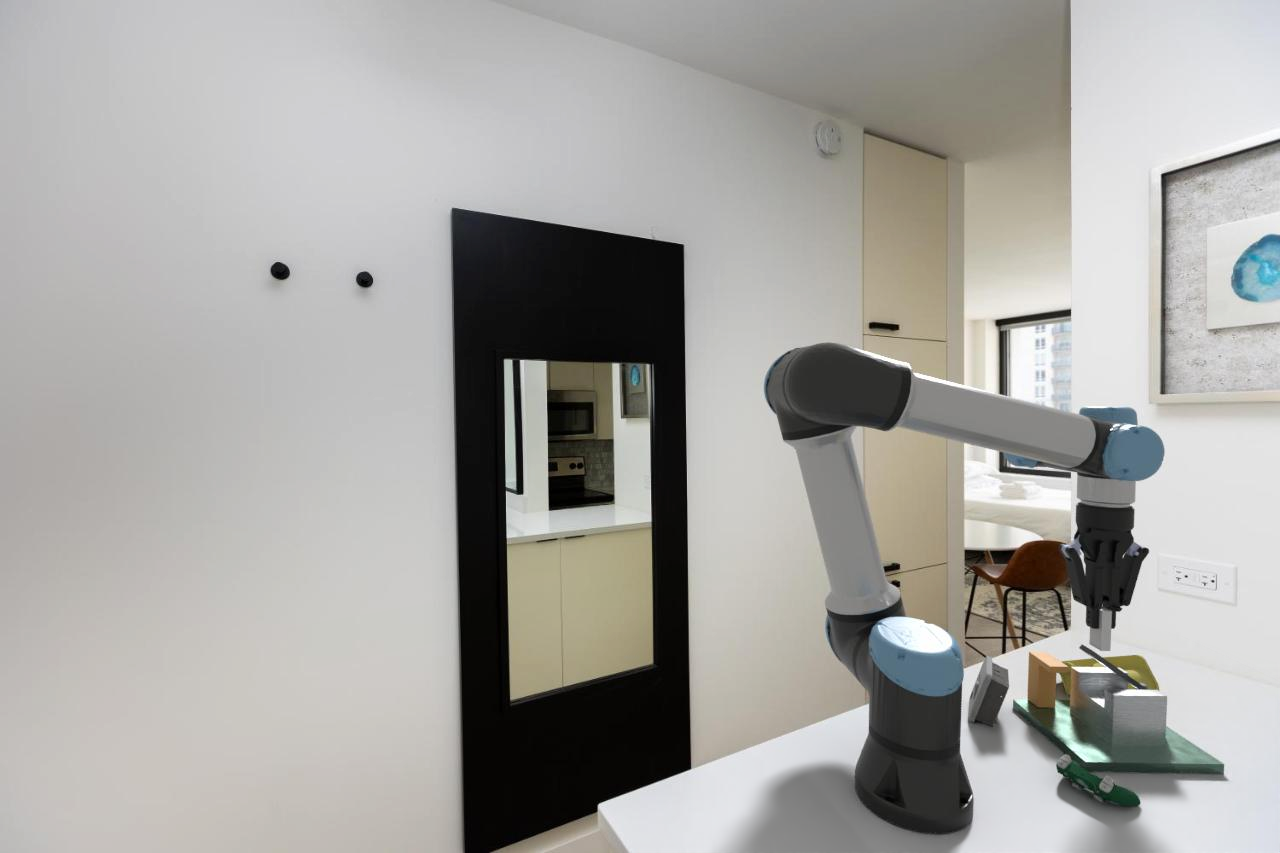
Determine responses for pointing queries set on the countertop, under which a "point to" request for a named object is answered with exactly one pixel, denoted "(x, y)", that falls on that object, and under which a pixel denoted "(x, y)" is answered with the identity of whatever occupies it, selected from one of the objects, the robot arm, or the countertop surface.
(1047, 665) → the block
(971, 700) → the electrical switch
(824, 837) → the countertop surface
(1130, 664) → the plastic component
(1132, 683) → the strap
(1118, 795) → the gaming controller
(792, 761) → the countertop surface
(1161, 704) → the green mounting baseplate
